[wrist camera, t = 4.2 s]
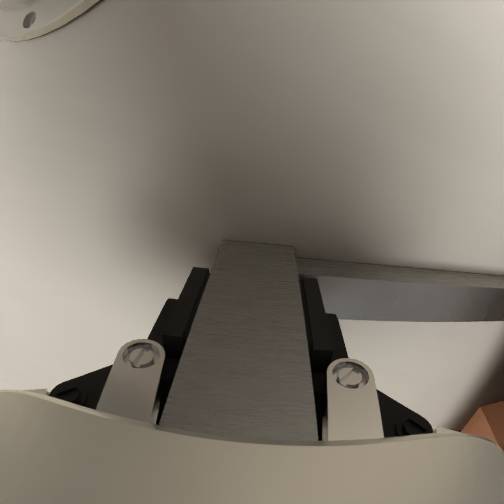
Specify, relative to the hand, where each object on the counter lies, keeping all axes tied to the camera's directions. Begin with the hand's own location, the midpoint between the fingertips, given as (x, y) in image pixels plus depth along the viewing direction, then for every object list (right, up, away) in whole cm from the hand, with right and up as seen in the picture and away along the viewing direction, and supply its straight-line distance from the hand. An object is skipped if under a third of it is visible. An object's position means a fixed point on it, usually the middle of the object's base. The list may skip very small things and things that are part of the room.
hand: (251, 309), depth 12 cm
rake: (+10, -3, +4) cm, 11 cm away
